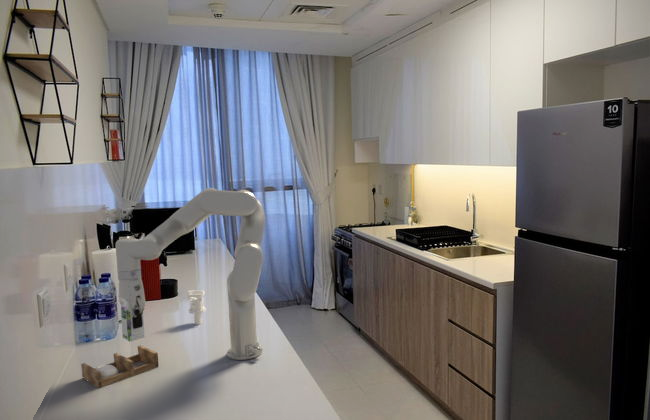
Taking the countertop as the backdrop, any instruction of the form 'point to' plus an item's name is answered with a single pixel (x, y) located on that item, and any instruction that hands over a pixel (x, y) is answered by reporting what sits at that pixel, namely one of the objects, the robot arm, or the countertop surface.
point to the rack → (122, 367)
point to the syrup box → (130, 323)
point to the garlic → (107, 371)
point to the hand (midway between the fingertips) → (133, 325)
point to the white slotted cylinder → (196, 305)
